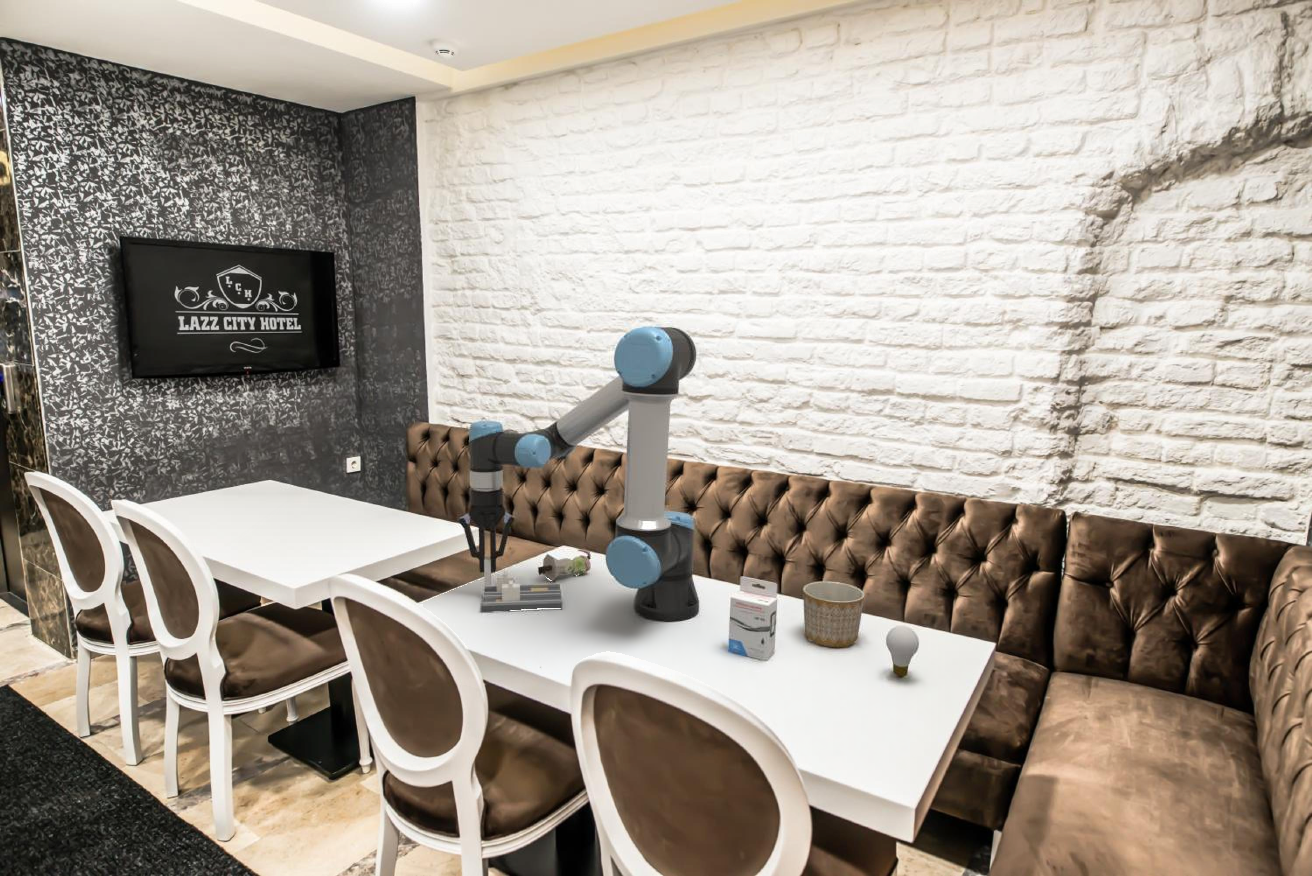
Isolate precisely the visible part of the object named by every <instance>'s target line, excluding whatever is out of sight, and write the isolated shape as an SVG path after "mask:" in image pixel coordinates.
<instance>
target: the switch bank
mask: <svg viewBox="0 0 1312 876" xmlns="http://www.w3.org/2000/svg"><path fill="white" fill-rule="evenodd" d="M561 590H562V589H561V583H560V582H559V583H534V584H532V583H531V584H530V583H529V584H520V601H505V602H502V592H497V585H491V587H485V586H484V591H483V593H482V594H483V595H482V602H481V613H494V612H493V611H508V612H511V611H510V610H521V609H537V608H562V609H563V600H562V591H561Z"/></svg>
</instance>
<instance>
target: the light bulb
mask: <svg viewBox="0 0 1312 876" xmlns="http://www.w3.org/2000/svg"><path fill="white" fill-rule="evenodd" d="M885 643H886V644H885V645H886V647H887V649H888V651H889V654H890V657H891V660H892V674H894V675H895V676H896V677H897V678H900V679H902V678H905V676H907V675H908V672H909V665H910V663H911V660H912V658H913V657H914V655H915V654H916V653H917V652H918V650H919V647H920V640H919V637H918V635H917V633H916V632H915V630H914V629H912V628H911V627H909V626H906V625H897V626H894V627H893V628H891V629H890V630H889V631H888V632H887V635H886V637H885Z"/></svg>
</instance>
